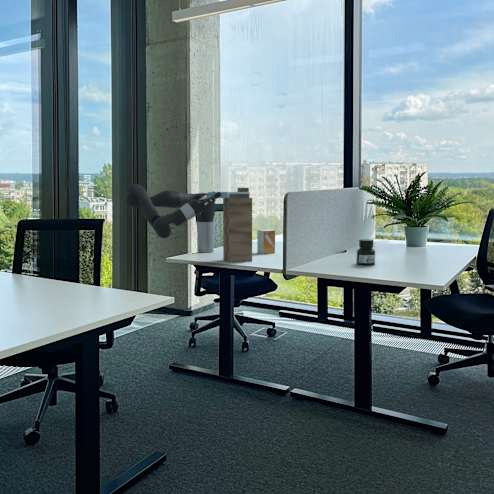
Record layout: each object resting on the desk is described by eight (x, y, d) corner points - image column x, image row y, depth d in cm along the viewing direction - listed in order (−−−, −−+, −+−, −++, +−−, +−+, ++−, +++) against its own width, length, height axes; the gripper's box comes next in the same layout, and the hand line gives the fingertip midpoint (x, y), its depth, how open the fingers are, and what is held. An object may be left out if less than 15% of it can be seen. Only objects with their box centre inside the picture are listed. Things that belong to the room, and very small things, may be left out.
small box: (263, 254, 300) (263, 230, 298) (257, 253, 305) (257, 230, 303) (275, 253, 304) (275, 230, 302) (268, 251, 309) (268, 229, 308)
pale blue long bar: (208, 198, 270) (208, 188, 269) (247, 197, 278) (247, 187, 277) (209, 198, 267) (209, 188, 267) (249, 197, 275) (249, 187, 274)
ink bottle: (359, 265, 262) (360, 241, 261) (352, 263, 271) (353, 239, 269) (378, 265, 264) (379, 240, 263) (371, 262, 273) (371, 238, 271)
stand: (223, 259, 281) (223, 193, 276) (245, 258, 285) (245, 193, 281) (229, 262, 272) (229, 194, 267) (252, 261, 276) (252, 194, 271)
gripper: (190, 215, 274) (217, 198, 278) (198, 217, 261) (226, 200, 265) (183, 202, 272) (209, 186, 276) (190, 204, 258) (218, 186, 262)
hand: (217, 193), depth 270 cm, fingers open, 8 cm apart
